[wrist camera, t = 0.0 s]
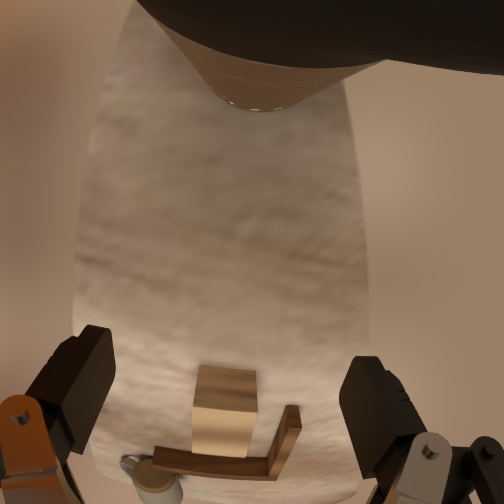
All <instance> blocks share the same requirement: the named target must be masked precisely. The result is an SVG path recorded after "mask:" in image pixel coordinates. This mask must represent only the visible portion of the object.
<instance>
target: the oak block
mask: <svg viewBox="0 0 504 504" xmlns="http://www.w3.org/2000/svg"><path fill="white" fill-rule="evenodd" d="M257 414H258V406H257V385H256V371H248V370H237V369H227V368H218V367H210V366H202V365H199V371H198V377H197V384H196V390H195V396H194V403H193V425H192V453H199V454H207V455H217V456H228V457H242V458H245V457H246V454H247V450H248V447H249V443H250V440H251V436H252V432H253V429H254V425H255V421H256V418H257Z"/></svg>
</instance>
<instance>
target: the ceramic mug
mask: <svg viewBox="0 0 504 504" xmlns="http://www.w3.org/2000/svg"><path fill="white" fill-rule="evenodd" d="M152 460H153V458H148V459H144V460H142V461H140V462H139V463H138V462H136V461H135V460H133V459H131V458H128V457H124V458H123V459H122V460H121V461H120V467H121V468H122V470H123V471H124V472H125V473H126V474H127V475H128V476H129V477H130V478H132V481H133V484H134V486H135V488H136V490H137V493H138V495H139V497H140V499H141V501H142V502H143V503H144V504H180V503H181V501H182V499H183V490H182V487H181V484H180V481H179V478H178V475H177V473H172V472H166V471H161V470H155V469H152V465H151V464H152ZM132 468H133V469H132Z"/></svg>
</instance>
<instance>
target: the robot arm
mask: <svg viewBox="0 0 504 504" xmlns="http://www.w3.org/2000/svg"><path fill="white" fill-rule="evenodd" d="M137 1H138V2H139V4H140V5H141V6H142V7H143V8H144V9H145V10H146V11H147V12H148V13H149V14H150V15H151V16H152V18H153V19H154V20H155V21H156V22H157V23H158V24H159V26H160V27H161V28H162V29H163V30H164V31H165V33H166V34H167V35H168V36H169V37H170V38H171V40H172V41H173V42H174V43H175V44H176V45H177V46H178V47H179V49H180V50H181V51H182V52H183V53H184V55H185V56H186V57H187V58H188V60H189V61H190V62H191V63H192V65H193V66H194V67H195V68H196V70H197V71H198V72H199V73H200V75H201V76H202V77H203V79H204V80H205V81H206V82H207V84H208V85H209V86H210V87H211V89H212V90H213V91H214V92H215V93H216V94H217V95H218V96H219V97H220V98H222V99H223V100H225V101H226V102H227V103H229V104H231V105H234V106H236V107H238V108H240V109H245V110H249V111H257V112H268V111H275V110H279V109H283V108H285V107H288V106H290V105H292V104H294V103H296V102H298V101H300V100H302V99H304V98H306V97H308V96H310V95H312V94H314V93H316V92H318V91H320V90H322V89H324V88H326V87H328V86H330V85H332V84H334V83H336V82H338V81H340V80H342V79H344V78H346V77H348V76H351V75H353V74H355V73H357V72H359V71H361V70H363V69H366V68H368V67H370V66H372V65H375V64H377V63H379V62H382V61H384V60H386V59H388V60H394V61H401V62H407V63H412V64H418V65H425V66H430V67H436V68H443V69H450V70H456V71H464V72H473V73H480V74H492V75H504V0H137ZM115 371H116V364H115V357H114V350H113V342H112V334H111V330H110V329H109V328H104V327H99V326H94V325H89V324H88V325H87V326H86V327H85V328H84V330H83V331H82V332H81V334H80V335H79V337H75V336H71V337H70V338H68V339H67V340H65V341H64V342H62V343H61V344H60V345H59V346H58V348H57V349H56V350H55V352H54V353H53V356H51V357H50V359H49V360H48V362H47V364H45V366H44V367H43V368H42V370H41V371H40V373H39V374H38V376H37V377H36V378H35V380H34V381H33V383H32V384H31V386H30V387H29V389H28V390H27V392H26V393H25V395H13V396H10V397H8V398H7V399H5V400H4V401H3V402H2V403H1V404H0V488H2V492H3V496H4V499H5V503H6V504H85V502H84V500H83V497H82V495H81V493H80V491H79V488H78V486H77V484H76V481H75V479H74V476H73V474H72V471H71V469H70V466H69V464H68V461H67V458H68V456H69V453H70V451H72V452H75V453H77V454H80V455H82V454H83V452H84V449H85V447H86V444H87V442H88V439H89V437H90V434H91V432H92V429H93V427H94V425H95V422H96V420H97V417H98V415H99V413H100V410H101V408H102V406H103V404H104V401H105V399H106V397H107V394H108V392H109V390H110V388H111V385H112V383H113V381H114V377H115ZM339 404H340V407H341V411H342V414H343V417H344V420H345V423H346V426H347V429H348V432H349V435H350V438H351V442H352V445H353V448H354V451H355V454H356V458H357V461H358V464H359V467H360V471H361V474H362V477H363V479H369V478H376V479H377V482H378V483H377V484H376V485H375V487H374V489H373V490H372V493H371V495H370V497H369V498H368V501H367V503H366V504H472V502H471V500H470V497H469V494H470V493H471V492H473V491H474V490H476V492H477V495H478V497H479V499H480V502H481V504H504V450H503V448H502V446H501V445H500V444H499V442H497V441H496V440H495V439H493V438H491V437H487V436H482V437H479V438H477V439H476V440H475V441H474V442H473V443H472V445H471V446H470V447H453V446H450V444H449V442H448V441H447V440H446V439H445V438H444V437H442V436H441V435H439V434H437V433H433V432H428V431H427V429H426V427H425V426H424V424H423V422H422V420H421V418H420V416H419V414H418V413H417V411H416V409H415V407H414V405H413V404H412V402H411V401H410V398H409V396H408V394H407V393H406V392H405V389H404V387H403V385H402V384H401V382H400V380H399V379H398V378H397V377H396V376H395V375H394V374H392V373H391V372H390V371H389V370H385V369H384V367H383V365H382V363H381V361H380V360H379V358H378V357H376V356H356V357H354V358H353V360H352V362H351V365H350V367H349V370H348V372H347V375H346V377H345V379H344V382H343V384H342V386H341V389H340V393H339ZM5 475H6V477H5Z"/></svg>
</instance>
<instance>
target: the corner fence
mask: <svg viewBox="0 0 504 504" xmlns="http://www.w3.org/2000/svg"><path fill="white" fill-rule="evenodd" d="M301 429H302V424H301V418H300V413H299V407H298V406H286V408H285V410H284V413H283V416H282V419H281V422H280V424H279V427H278V430H277V432H276V435H275V438H274V440H273V443H272V446H271V448H270V451H269V453H268V456H267V458H254V457H245V458H242V457H228V456H217V455H207V454H199V453H192V452H188V451H181V450H175V449H169V448H163V447H158V446H155V450H154V455H153V460H152V464H151V465H152V469H155V470H161V471H166V472H172V473H178V474H185V475H193V476H201V477H210V478H220V479H234V480H254V481H276V480H277V478H278V476H279V475H280V473H281V471H282V469H283V467H284V465H285V463H286V461H287V459H288V457H289V455H290V453H291V451H292V449H293V446H294V444H295V442H296V440H297V438H298V436H299V434H300V432H301Z"/></svg>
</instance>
